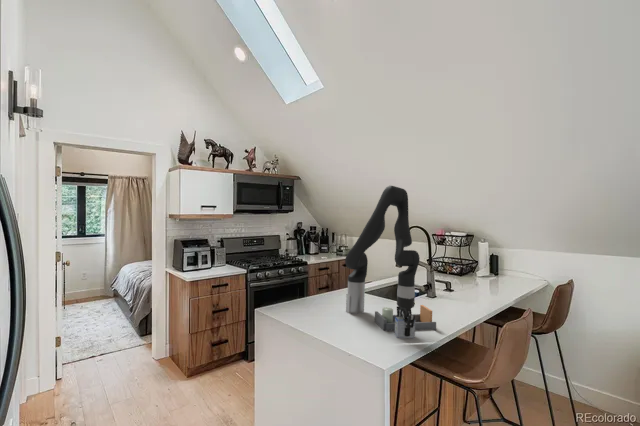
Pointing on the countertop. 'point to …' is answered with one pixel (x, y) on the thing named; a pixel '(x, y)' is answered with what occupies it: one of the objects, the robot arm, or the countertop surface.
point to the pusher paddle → (425, 314)
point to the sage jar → (388, 314)
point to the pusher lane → (391, 326)
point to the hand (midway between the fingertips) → (404, 333)
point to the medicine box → (403, 328)
